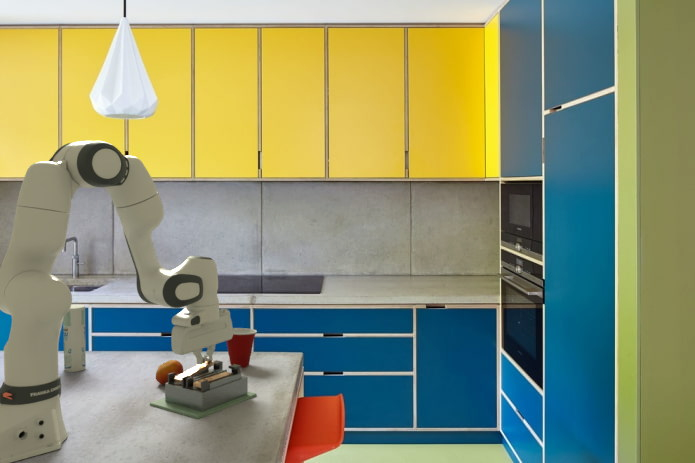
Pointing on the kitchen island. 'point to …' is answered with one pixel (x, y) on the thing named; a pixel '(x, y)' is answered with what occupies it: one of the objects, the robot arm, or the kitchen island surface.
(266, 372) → the kitchen island surface
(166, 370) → the fruit
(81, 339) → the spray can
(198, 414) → the board
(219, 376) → the strap near
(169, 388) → the grey toaster
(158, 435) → the kitchen island surface
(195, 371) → the strap far
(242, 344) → the plastic cup
